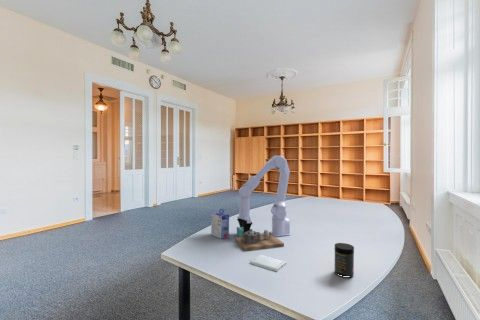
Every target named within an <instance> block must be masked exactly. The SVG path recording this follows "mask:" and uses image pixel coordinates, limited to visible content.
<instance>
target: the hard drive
mask: <svg viewBox="0 0 480 320" xmlns="http://www.w3.org/2000/svg"><path fill="white" fill-rule="evenodd" d="M249 264H251V265H254V266H256V267H261V268H263V269H267V270H271V271H273V270H274V271H273V272H276V271H278V272H279V271H280V270H282V269H283V268H284V267H286V265H287V264H288V263H287V261H283V260H282V259H281V260H280V259H276V258H273V257H269V256H266V255H262V254H259V255H258V256H255V257H254V258H253V259H251V260H250V263H249ZM283 266H284V267H283ZM282 267H283V268H282Z"/></svg>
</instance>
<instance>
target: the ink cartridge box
mask: <svg viewBox="0 0 480 320" xmlns="http://www.w3.org/2000/svg"><path fill="white" fill-rule="evenodd" d="M224 212H225V209H223V208H219V211H218V212H211V220H210V221H211V223H210V224H211V226H210V230H211V231H210V232H211V233H210V235H211V236H214V237H216V238H218V239H221V240H222V239H226V238H229V237H230V235H229V234H230V214H228V213H224Z"/></svg>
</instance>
